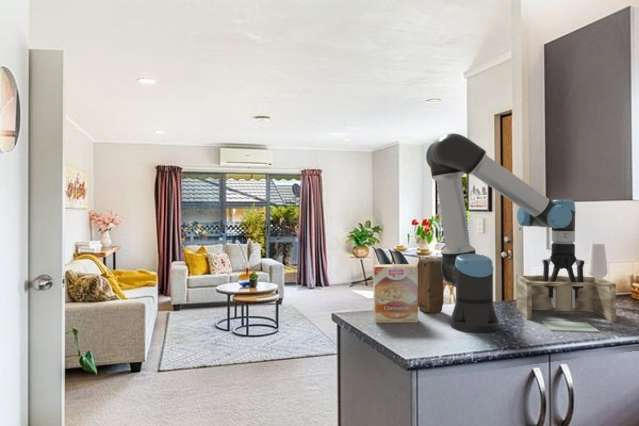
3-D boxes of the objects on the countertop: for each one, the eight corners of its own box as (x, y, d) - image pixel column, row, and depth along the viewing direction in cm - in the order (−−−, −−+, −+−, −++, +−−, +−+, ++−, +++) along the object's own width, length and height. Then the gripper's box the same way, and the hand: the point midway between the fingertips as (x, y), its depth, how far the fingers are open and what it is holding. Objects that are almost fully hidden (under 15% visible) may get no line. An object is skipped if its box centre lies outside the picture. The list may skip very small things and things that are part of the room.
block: (445, 313, 176) (444, 259, 176) (427, 314, 174) (426, 260, 174) (431, 307, 187) (430, 256, 186) (413, 308, 185) (413, 257, 184)
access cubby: (527, 319, 165) (526, 282, 165) (516, 308, 183) (516, 274, 182) (615, 322, 159) (615, 283, 159) (596, 310, 177) (596, 276, 177)
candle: (551, 307, 173) (551, 280, 173) (566, 307, 173) (566, 280, 172) (558, 311, 167) (558, 282, 167) (574, 311, 167) (574, 283, 167)
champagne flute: (585, 304, 189) (585, 244, 188) (591, 301, 193) (590, 243, 193) (604, 306, 184) (604, 244, 184) (609, 303, 189) (609, 243, 188)
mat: (550, 330, 150) (550, 329, 150) (541, 322, 161) (541, 320, 161) (599, 332, 147) (599, 330, 147) (587, 323, 158) (587, 322, 158)
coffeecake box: (375, 323, 163) (374, 266, 163) (373, 318, 170) (372, 264, 170) (418, 322, 163) (418, 266, 162) (415, 317, 170) (414, 263, 169)
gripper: (538, 243, 168) (537, 308, 168) (595, 243, 164) (594, 310, 164) (532, 241, 175) (532, 304, 175) (587, 242, 171) (587, 306, 172)
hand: (562, 307), depth 170 cm, fingers closed on candle, 5 cm apart
